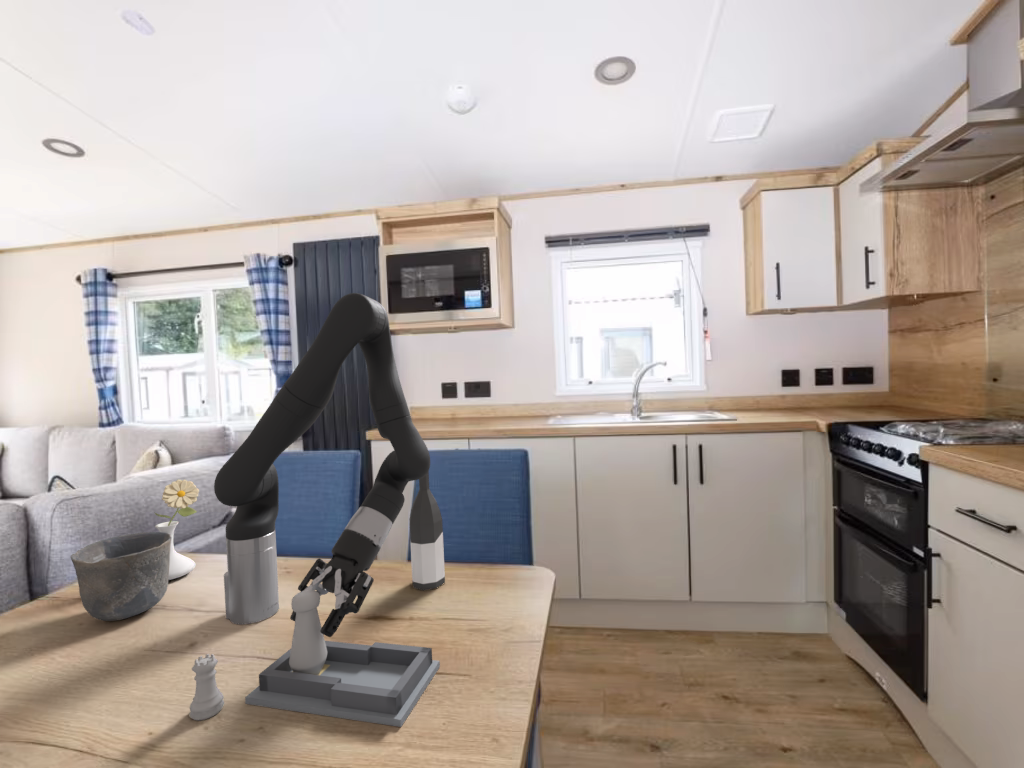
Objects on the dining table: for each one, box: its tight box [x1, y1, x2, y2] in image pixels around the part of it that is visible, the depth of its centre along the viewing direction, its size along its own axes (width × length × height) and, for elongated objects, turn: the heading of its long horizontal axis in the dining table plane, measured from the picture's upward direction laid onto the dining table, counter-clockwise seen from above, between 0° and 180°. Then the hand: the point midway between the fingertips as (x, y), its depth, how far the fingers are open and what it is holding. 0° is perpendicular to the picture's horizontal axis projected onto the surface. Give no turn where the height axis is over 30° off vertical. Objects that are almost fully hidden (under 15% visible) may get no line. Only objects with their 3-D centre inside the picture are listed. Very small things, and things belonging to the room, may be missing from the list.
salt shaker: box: [289, 590, 327, 675], centre depth 78 cm, size 6×6×13 cm
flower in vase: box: [154, 479, 200, 581], centre depth 124 cm, size 13×11×25 cm
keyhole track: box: [244, 640, 441, 728], centre depth 76 cm, size 26×14×4 cm, turn 76°
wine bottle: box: [409, 470, 446, 591], centre depth 113 cm, size 8×8×30 cm
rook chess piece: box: [188, 653, 225, 722], centre depth 71 cm, size 4×4×8 cm
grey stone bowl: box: [70, 531, 172, 622], centre depth 105 cm, size 18×18×15 cm
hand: (309, 628), depth 78 cm, fingers open, 8 cm apart
